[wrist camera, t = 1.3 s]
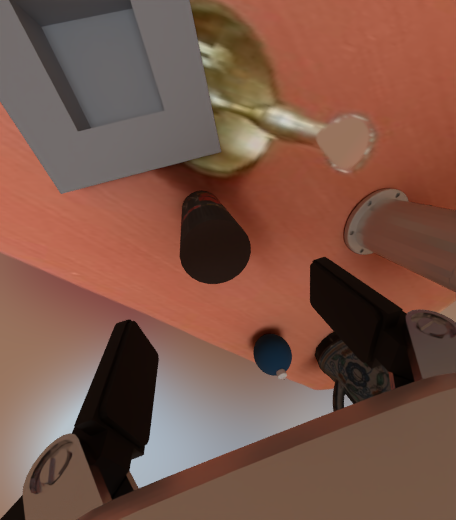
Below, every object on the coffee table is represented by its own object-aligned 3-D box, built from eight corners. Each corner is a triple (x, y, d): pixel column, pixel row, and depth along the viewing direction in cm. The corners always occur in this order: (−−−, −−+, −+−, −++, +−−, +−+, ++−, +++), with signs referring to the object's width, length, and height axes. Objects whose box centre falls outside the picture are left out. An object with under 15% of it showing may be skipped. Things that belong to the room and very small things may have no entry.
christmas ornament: (242, 342, 45) (255, 386, 36) (267, 320, 43) (288, 361, 34) (263, 353, 49) (280, 395, 40) (287, 334, 47) (310, 373, 38)
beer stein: (373, 337, 56) (492, 447, 35) (324, 374, 61) (401, 492, 39) (349, 316, 49) (480, 441, 27) (294, 360, 53) (370, 497, 32)
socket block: (163, -81, 16) (156, -157, 12) (215, 153, 25) (221, 151, 21) (-58, -44, 15) (-143, -116, 11) (81, 188, 24) (61, 193, 20)
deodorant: (173, 211, 28) (163, 257, 15) (201, 181, 26) (217, 202, 13) (202, 237, 30) (216, 294, 17) (228, 211, 29) (264, 251, 16)
